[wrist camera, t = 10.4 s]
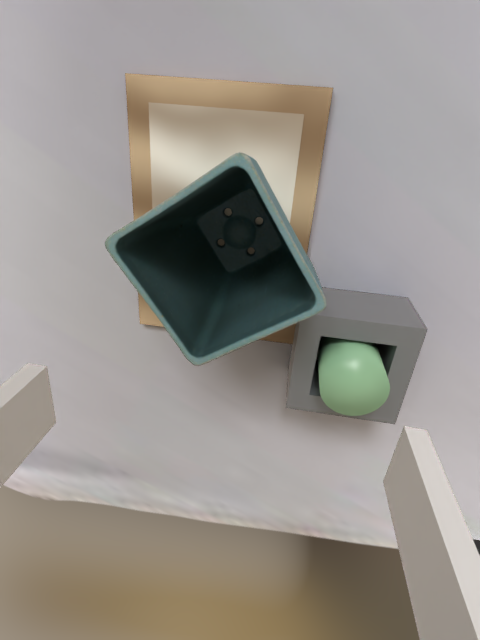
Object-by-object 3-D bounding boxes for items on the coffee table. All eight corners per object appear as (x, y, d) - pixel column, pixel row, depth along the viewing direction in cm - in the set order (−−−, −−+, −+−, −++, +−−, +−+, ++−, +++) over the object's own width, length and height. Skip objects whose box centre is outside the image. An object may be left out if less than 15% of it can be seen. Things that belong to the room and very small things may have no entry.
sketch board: (129, 74, 25) (124, 73, 24) (332, 88, 23) (333, 87, 23) (142, 320, 33) (139, 324, 32) (292, 340, 32) (292, 344, 31)
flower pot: (221, 306, 30) (193, 370, 22) (157, 208, 28) (98, 242, 20) (322, 256, 27) (331, 309, 19) (262, 139, 25) (243, 147, 17)
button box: (301, 285, 29) (301, 313, 25) (408, 297, 29) (427, 329, 24) (288, 370, 33) (286, 407, 29) (382, 383, 32) (394, 424, 28)
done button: (322, 321, 28) (325, 356, 24) (383, 329, 28) (398, 366, 23) (312, 370, 30) (314, 410, 26) (369, 378, 30) (380, 420, 25)
